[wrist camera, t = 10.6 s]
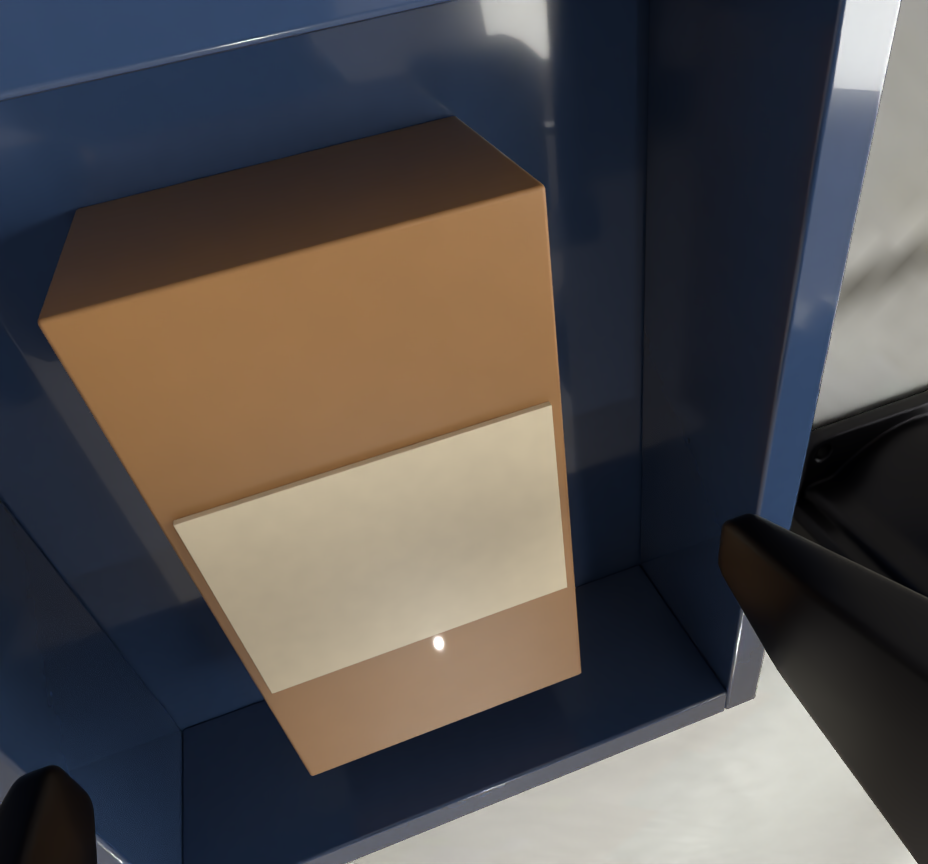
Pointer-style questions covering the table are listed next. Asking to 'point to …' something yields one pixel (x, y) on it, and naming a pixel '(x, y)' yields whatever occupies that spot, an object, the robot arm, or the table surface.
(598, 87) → the open box
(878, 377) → the table surface
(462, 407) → the packet
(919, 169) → the table surface
